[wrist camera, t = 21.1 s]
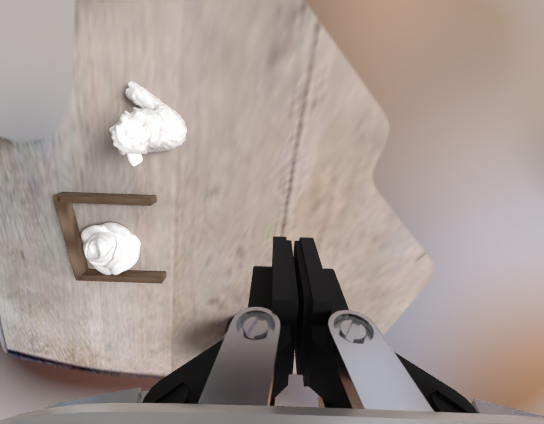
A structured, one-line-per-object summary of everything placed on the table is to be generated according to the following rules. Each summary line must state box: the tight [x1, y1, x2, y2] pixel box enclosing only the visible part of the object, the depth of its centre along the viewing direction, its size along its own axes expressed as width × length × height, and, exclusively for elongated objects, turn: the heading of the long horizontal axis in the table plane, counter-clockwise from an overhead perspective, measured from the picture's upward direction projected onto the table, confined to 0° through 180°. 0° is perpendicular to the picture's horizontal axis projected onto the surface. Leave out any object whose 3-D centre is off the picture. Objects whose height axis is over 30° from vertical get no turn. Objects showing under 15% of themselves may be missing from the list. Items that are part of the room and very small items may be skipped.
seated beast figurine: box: [109, 81, 187, 166], centre depth 31 cm, size 10×9×12 cm
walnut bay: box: [53, 192, 166, 283], centre depth 42 cm, size 15×14×2 cm
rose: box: [81, 222, 141, 275], centre depth 42 cm, size 10×4×10 cm
